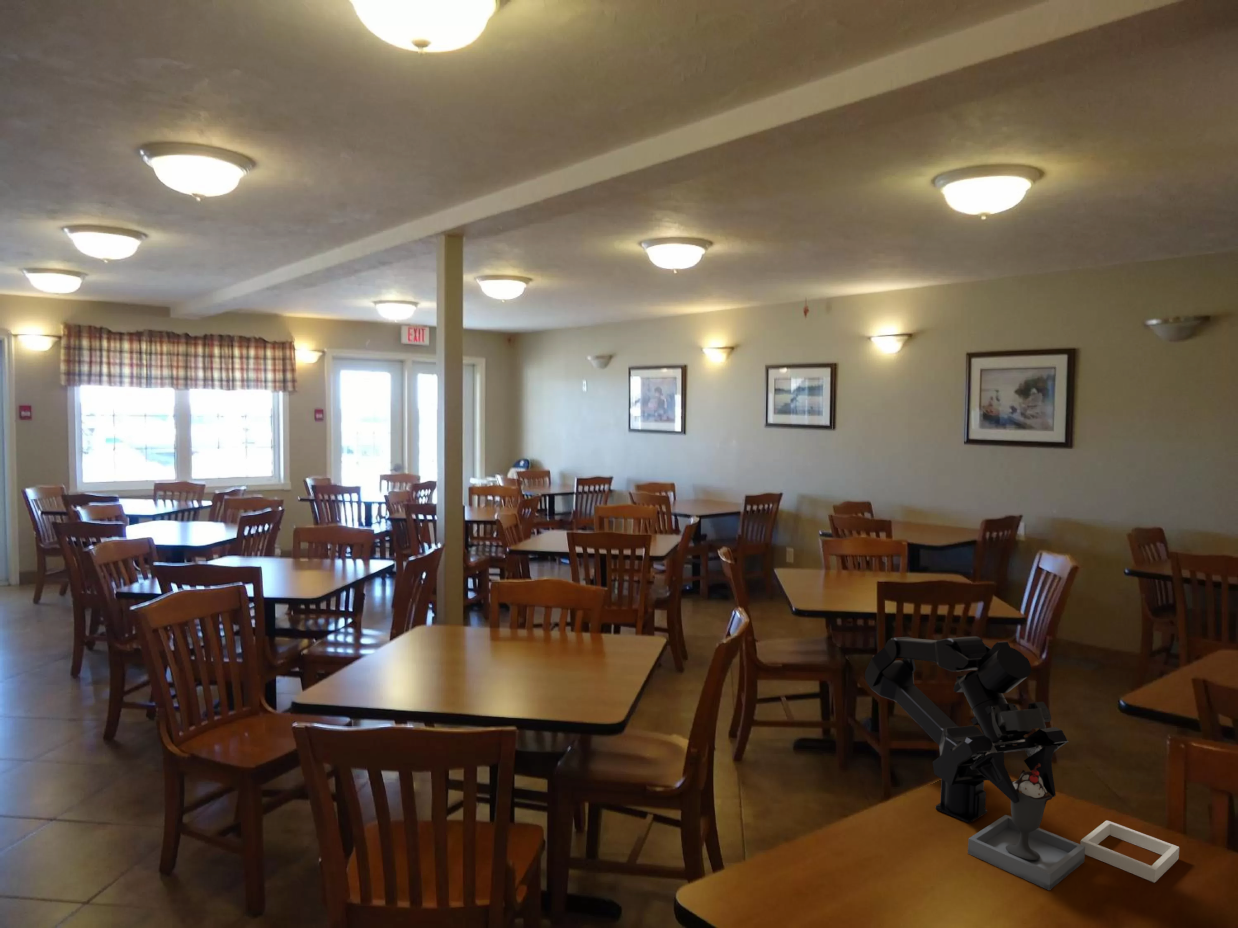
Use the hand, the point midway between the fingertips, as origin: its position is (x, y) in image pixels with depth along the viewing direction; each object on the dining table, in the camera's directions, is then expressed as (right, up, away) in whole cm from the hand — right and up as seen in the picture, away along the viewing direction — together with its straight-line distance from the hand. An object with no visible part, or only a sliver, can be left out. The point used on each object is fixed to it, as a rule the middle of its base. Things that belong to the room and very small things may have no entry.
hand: (1035, 799), depth 127 cm
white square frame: (+17, -10, +3) cm, 20 cm away
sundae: (-1, -9, +1) cm, 9 cm away
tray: (-1, -10, +2) cm, 10 cm away
